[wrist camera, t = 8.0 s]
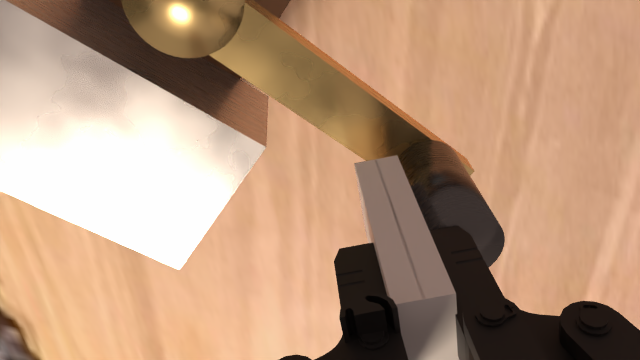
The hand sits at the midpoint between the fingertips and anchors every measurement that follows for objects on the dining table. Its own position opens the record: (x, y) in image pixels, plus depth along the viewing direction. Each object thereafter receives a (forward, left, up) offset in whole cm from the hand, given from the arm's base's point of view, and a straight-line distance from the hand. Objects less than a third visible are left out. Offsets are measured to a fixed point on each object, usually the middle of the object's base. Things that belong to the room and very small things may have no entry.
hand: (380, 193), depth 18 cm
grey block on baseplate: (-8, -5, -8) cm, 13 cm away
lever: (-4, +1, -2) cm, 5 cm away
